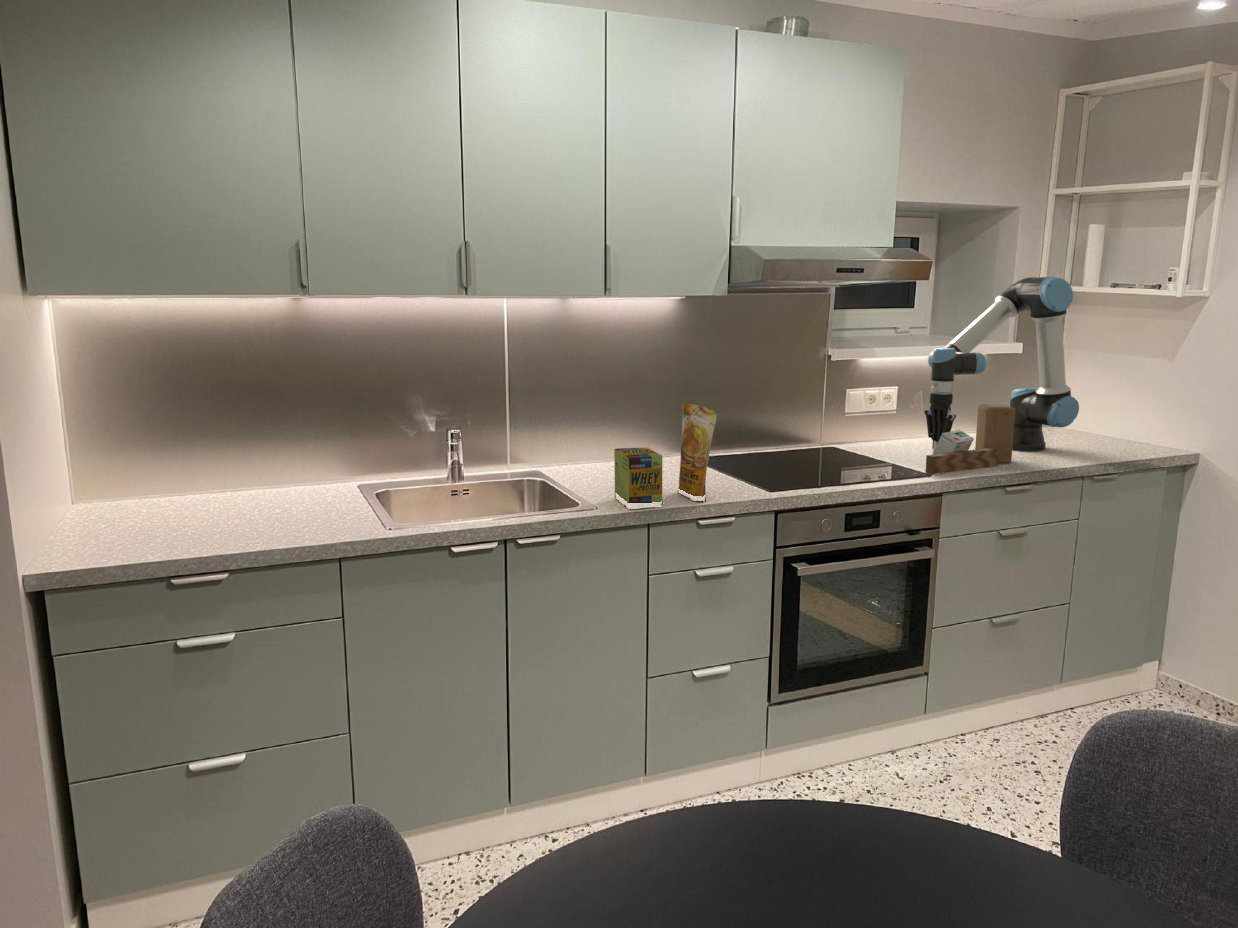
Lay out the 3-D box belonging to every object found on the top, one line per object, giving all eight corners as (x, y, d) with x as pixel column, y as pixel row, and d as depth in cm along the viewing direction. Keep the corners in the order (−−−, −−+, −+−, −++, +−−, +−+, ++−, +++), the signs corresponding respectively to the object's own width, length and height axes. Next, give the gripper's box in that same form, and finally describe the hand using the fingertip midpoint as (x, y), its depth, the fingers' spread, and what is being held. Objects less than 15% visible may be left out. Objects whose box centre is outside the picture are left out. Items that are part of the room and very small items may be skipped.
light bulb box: (946, 454, 329) (959, 428, 324) (962, 464, 325) (975, 438, 319) (929, 458, 322) (942, 432, 317) (944, 468, 318) (957, 442, 313)
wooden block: (1012, 464, 325) (1016, 407, 321) (983, 464, 325) (987, 407, 321) (1001, 458, 335) (1005, 403, 331) (973, 458, 335) (977, 403, 331)
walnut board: (991, 464, 324) (992, 447, 323) (997, 466, 322) (999, 449, 320) (925, 472, 312) (926, 455, 311) (932, 474, 309) (933, 456, 308)
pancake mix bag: (690, 489, 291) (691, 400, 286) (718, 502, 274) (719, 408, 268) (671, 491, 289) (671, 402, 283) (698, 504, 271) (699, 410, 266)
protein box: (628, 510, 265) (628, 457, 262) (614, 498, 280) (613, 448, 277) (663, 507, 268) (663, 455, 265) (647, 496, 283) (647, 446, 280)
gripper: (920, 391, 326) (915, 456, 331) (946, 395, 315) (942, 463, 320) (936, 389, 329) (931, 454, 334) (963, 394, 318) (958, 461, 323)
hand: (936, 458), depth 327 cm, fingers closed
